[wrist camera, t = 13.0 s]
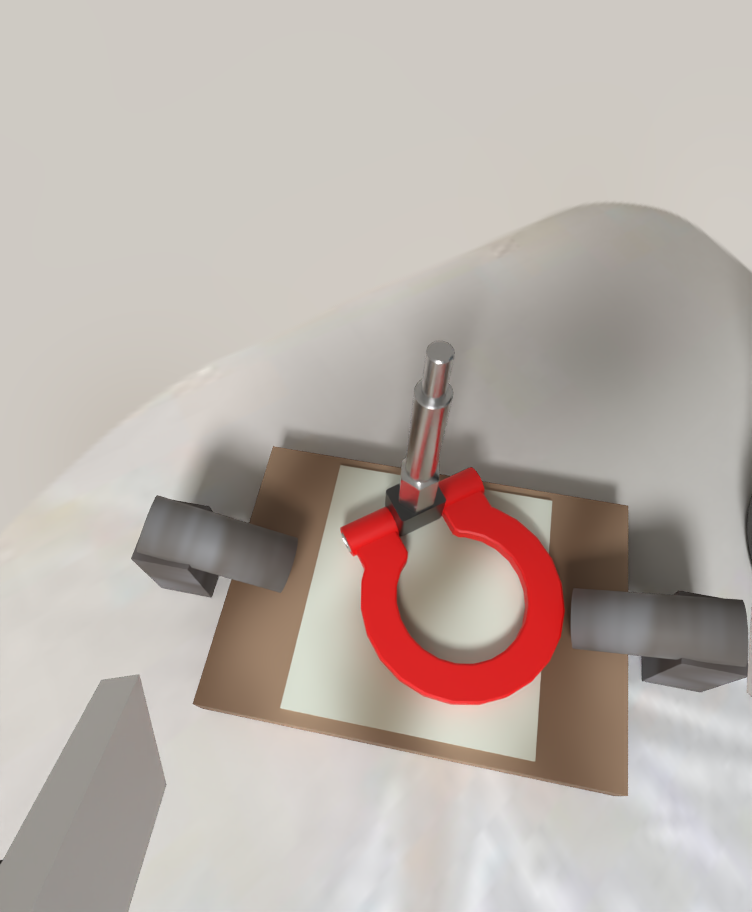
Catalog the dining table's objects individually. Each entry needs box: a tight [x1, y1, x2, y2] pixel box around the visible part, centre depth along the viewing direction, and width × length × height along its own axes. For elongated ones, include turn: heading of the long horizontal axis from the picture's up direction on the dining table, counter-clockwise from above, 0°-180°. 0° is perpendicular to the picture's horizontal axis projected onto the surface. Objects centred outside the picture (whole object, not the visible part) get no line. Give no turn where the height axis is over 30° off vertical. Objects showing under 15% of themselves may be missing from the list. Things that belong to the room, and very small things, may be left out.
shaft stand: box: [131, 446, 748, 796], centre depth 26 cm, size 24×12×6 cm, turn 79°
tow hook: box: [340, 341, 565, 705], centre depth 21 cm, size 8×13×9 cm
